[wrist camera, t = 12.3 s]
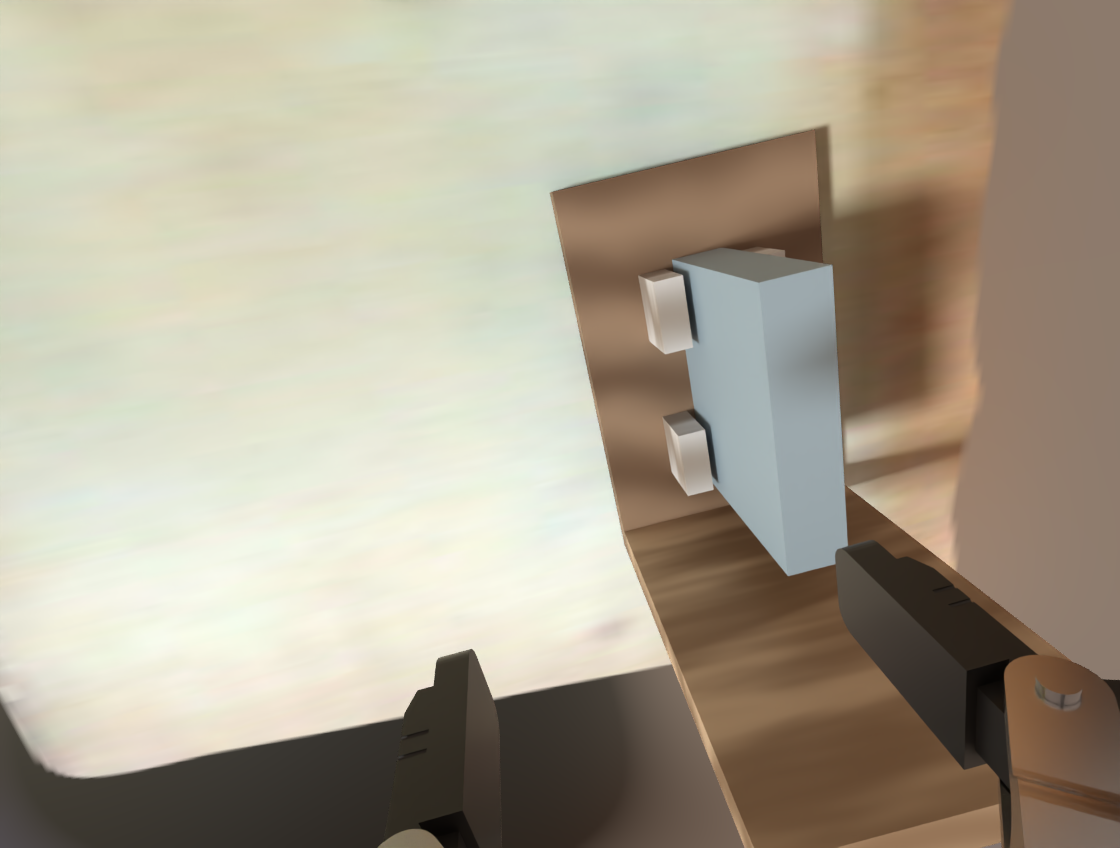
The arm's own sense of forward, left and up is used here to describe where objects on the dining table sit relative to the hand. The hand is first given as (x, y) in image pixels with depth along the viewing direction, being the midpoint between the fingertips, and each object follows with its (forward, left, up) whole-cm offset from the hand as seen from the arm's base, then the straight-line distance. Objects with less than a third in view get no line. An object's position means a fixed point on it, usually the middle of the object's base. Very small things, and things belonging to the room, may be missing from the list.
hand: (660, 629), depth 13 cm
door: (+3, +10, -25) cm, 26 cm away
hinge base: (+3, +10, -26) cm, 28 cm away
